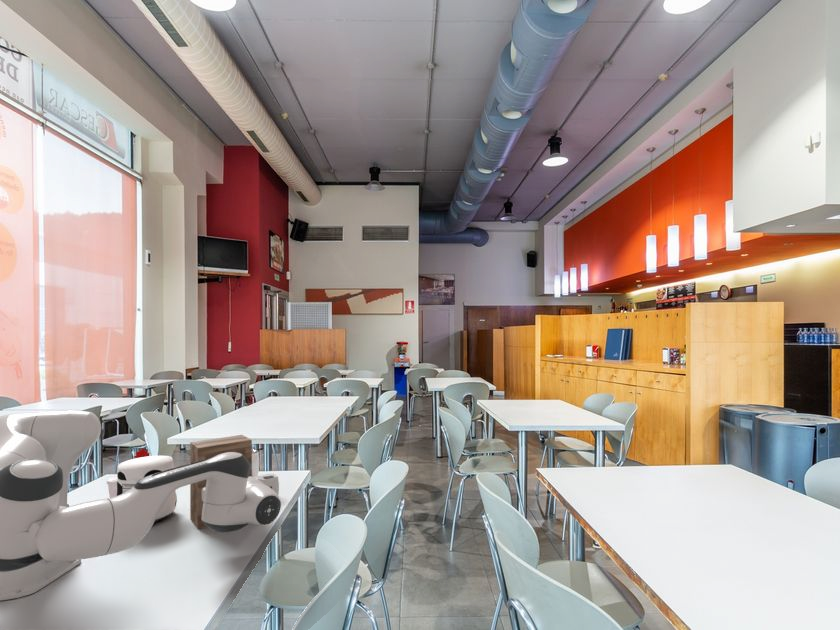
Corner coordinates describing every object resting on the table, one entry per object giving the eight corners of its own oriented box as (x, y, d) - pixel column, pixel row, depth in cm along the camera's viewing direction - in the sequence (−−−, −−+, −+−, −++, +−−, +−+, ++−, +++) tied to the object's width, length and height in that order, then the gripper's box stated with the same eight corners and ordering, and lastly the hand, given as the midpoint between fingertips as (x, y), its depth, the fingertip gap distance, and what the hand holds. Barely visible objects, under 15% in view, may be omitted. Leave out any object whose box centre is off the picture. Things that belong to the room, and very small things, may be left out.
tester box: (252, 515, 148) (251, 439, 149) (198, 529, 138) (197, 448, 139) (242, 506, 156) (241, 434, 157) (190, 519, 146) (190, 442, 147)
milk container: (172, 504, 159) (171, 451, 160) (181, 520, 145) (181, 462, 146) (111, 517, 149) (111, 461, 149) (115, 536, 135) (115, 473, 135)
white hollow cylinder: (238, 492, 170) (238, 451, 170) (258, 489, 173) (258, 449, 173) (239, 498, 163) (239, 455, 164) (260, 495, 166) (260, 453, 167)
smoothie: (133, 503, 160) (133, 463, 161) (119, 511, 154) (119, 468, 154) (116, 503, 161) (116, 462, 161) (101, 510, 154) (101, 468, 155)
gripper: (208, 515, 121) (195, 501, 132) (283, 497, 134) (266, 485, 145) (208, 490, 121) (195, 478, 132) (283, 475, 134) (266, 465, 145)
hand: (233, 482), depth 139 cm, fingers closed
